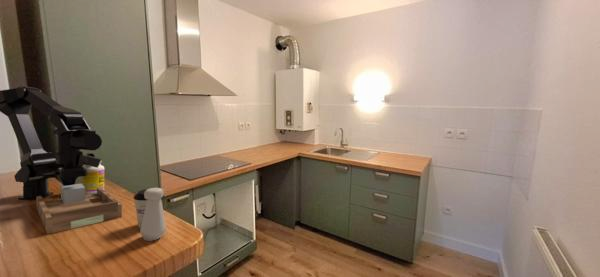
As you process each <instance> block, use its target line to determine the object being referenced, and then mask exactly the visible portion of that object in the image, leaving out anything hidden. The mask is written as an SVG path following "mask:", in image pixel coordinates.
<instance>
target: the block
mask: <svg viewBox="0 0 600 277" xmlns="http://www.w3.org/2000/svg"><path fill="white" fill-rule="evenodd" d="M85 195H86V194H85V187H84V186H83V185H82V183H75V184H74V185H67V186H63V185H62V186H60V196H61V197H60V199H61V200H62V201H63V203H64V204H69V203H75V202H81V201H85Z"/></svg>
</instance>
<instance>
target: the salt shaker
mask: <svg viewBox="0 0 600 277" xmlns="http://www.w3.org/2000/svg"><path fill="white" fill-rule="evenodd" d="M146 189H147V190H146V191H145V192H144V197H145V199H147V204H146V208H145V212H144V216H143V221H142V225H141V228H139V230H140V235H141V237H142V238H143V240H144V241H147V242H154V241H158V240H160V239H161V238H162V237H163V236H164V234H165V231H166V229H167V222H166V218H165V213H164V207H163V202H162V198H163V197H164V195H165V194H164V189H163V188H160V187H151V188H146ZM159 238H160V239H159ZM157 239H158V240H157ZM153 240H154V241H153Z"/></svg>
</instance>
